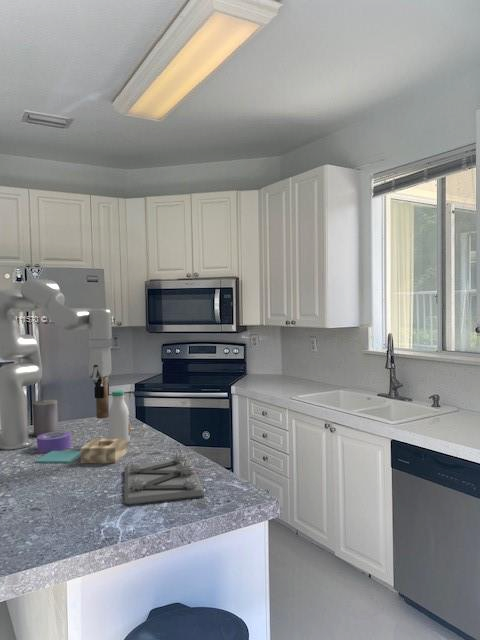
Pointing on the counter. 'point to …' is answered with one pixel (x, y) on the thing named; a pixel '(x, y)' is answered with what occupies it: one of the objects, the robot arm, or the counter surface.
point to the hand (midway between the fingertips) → (102, 396)
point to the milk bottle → (119, 418)
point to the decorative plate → (161, 481)
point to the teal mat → (59, 457)
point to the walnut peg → (103, 401)
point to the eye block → (103, 451)
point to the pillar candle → (45, 417)
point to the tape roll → (53, 441)
